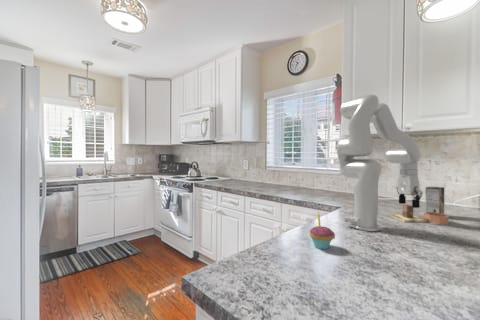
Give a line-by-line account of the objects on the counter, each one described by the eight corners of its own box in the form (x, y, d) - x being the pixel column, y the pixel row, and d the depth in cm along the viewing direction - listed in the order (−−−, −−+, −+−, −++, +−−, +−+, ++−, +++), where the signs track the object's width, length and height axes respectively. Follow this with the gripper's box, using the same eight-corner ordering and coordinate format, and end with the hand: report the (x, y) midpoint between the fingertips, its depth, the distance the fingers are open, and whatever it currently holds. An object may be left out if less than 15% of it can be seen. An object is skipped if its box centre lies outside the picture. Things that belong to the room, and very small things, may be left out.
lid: (404, 222, 112) (404, 207, 111) (390, 216, 123) (390, 203, 122) (427, 222, 111) (427, 207, 111) (410, 216, 122) (410, 203, 122)
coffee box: (430, 213, 132) (430, 186, 132) (444, 215, 126) (444, 187, 126) (425, 215, 126) (425, 187, 126) (439, 218, 121) (440, 188, 121)
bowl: (434, 224, 109) (434, 216, 109) (420, 219, 118) (420, 211, 118) (453, 224, 109) (453, 216, 109) (437, 219, 118) (437, 212, 118)
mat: (404, 223, 111) (404, 222, 111) (388, 217, 123) (388, 216, 123) (428, 223, 111) (428, 222, 111) (411, 217, 123) (411, 216, 123)
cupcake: (304, 244, 83) (304, 211, 83) (322, 241, 86) (322, 209, 86) (321, 253, 75) (321, 217, 75) (340, 249, 78) (340, 214, 78)
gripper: (390, 171, 126) (390, 202, 126) (413, 174, 108) (413, 209, 109) (404, 171, 125) (404, 201, 126) (429, 173, 108) (429, 209, 108)
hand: (408, 205), depth 117 cm, fingers open, 9 cm apart
